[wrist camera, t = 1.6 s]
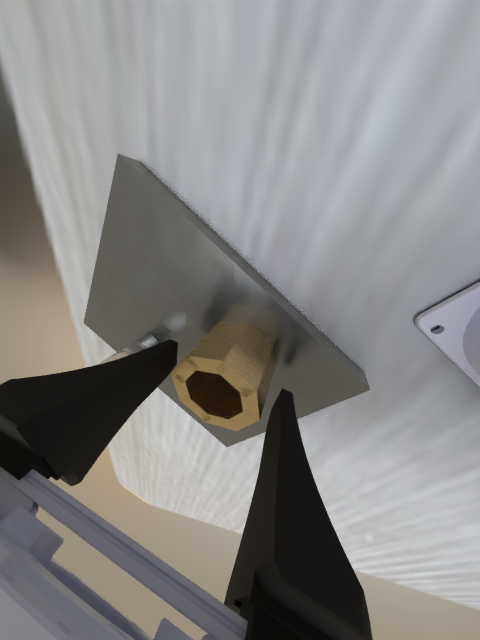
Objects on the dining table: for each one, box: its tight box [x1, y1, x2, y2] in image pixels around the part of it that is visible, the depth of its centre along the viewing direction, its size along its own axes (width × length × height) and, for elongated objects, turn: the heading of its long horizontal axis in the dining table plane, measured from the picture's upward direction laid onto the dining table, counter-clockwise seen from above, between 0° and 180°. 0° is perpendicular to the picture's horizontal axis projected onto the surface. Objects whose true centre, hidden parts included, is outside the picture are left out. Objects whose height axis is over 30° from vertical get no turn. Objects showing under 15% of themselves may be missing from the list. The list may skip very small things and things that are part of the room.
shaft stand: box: [84, 154, 370, 447], centre depth 14 cm, size 20×16×6 cm
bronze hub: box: [171, 322, 274, 431], centre depth 12 cm, size 5×5×4 cm
